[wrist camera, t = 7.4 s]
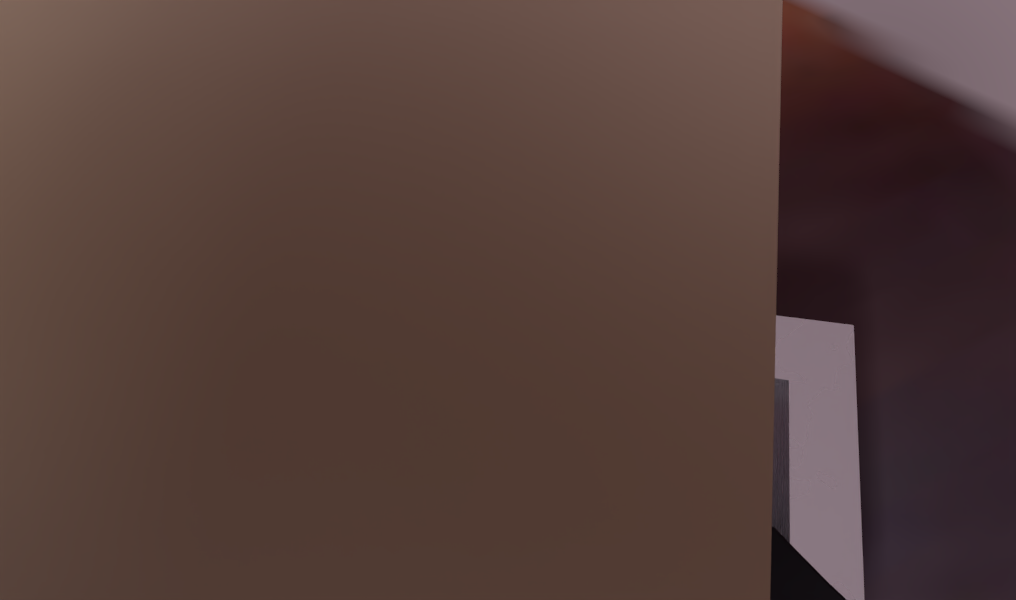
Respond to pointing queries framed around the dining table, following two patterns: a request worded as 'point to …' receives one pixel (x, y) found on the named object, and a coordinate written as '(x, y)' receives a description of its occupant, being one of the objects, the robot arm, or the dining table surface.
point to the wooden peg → (388, 299)
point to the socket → (818, 449)
